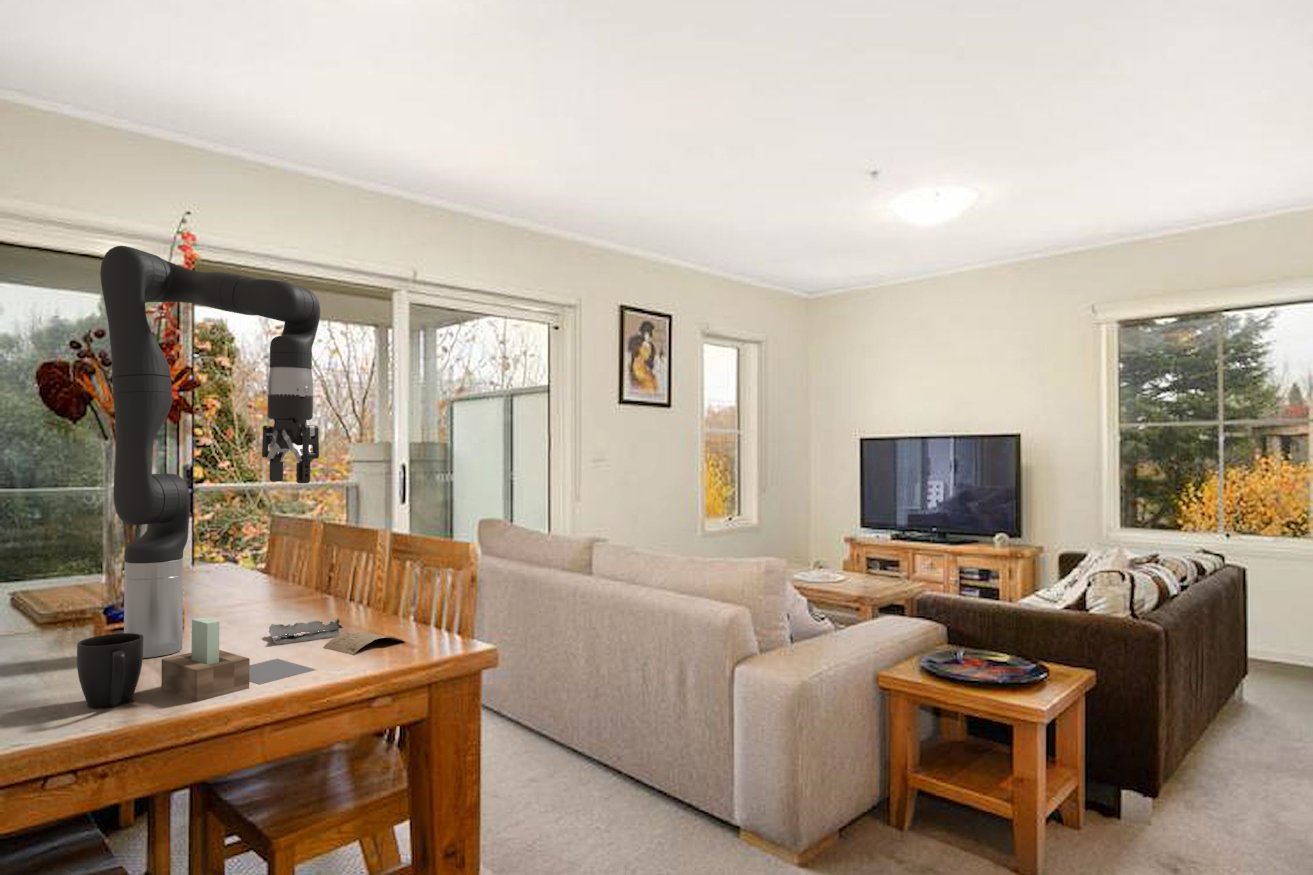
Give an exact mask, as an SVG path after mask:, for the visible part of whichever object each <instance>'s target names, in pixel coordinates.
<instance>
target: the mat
mask: <svg viewBox="0 0 1313 875" xmlns="http://www.w3.org/2000/svg"><path fill="white" fill-rule="evenodd" d="M314 671H317V668H314V667H313V668H312V667H309V666H307V665H306V666H305V665H302V664H298V663H294V662H291V661H287V660H285V659H284V660H283V659H280V658H275V659H269V660H266V661H261V662H256V663H253V664H250V668H249V683H253V684H257V685H264V684H268V683H272V682H274V681H275V682H276V681H279V680H283V679H286V678H291V677H294V676H298V675H303V674H305V673H309V672H314Z"/></svg>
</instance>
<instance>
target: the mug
mask: <svg viewBox="0 0 1313 875" xmlns="http://www.w3.org/2000/svg"><path fill="white" fill-rule="evenodd" d="M143 659H144V658H143V635H141V634H134V633H124V632H121V633H112V634H111V633H110V634H103V635H97V636H92V637H89V638H86V639H82V640H80V641H78V642H77V645H76V668H77V675H78V679H79V685H80V687H81V690H82V693H83V696H84V699H85V701H86V704H87V707H88V708H90V709H95V710H96V709H109V708H116V707H120V706H124V705H126V704H129V703H131V702H132V700H133V698H134V694H135V691H136V689H137V685H138V682H139V680H140V676H141V673H142V672H141V670H142V666H143Z"/></svg>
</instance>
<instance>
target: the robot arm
mask: <svg viewBox="0 0 1313 875" xmlns="http://www.w3.org/2000/svg"><path fill="white" fill-rule="evenodd" d="M100 283H101V284H100V285H101V290H102V296H103V302H104V305H105V313H106V319H107V324H108V334H109V335H108V336H109V344H110V354H111V378H112V379H111V380H112V381H111V384H112V397H113V404H114V405H113V406H114V421H115V423H114V424H115V425H114V426H115V428H114V429H115V454H114V456H115V457H114V471H113V472H114V474H113V504H114V508H115V512H116V514H117V516H118V518H119V519H120V521H122V522H123V523H124V524H126V525H128V526H140V525H141V526H142V525H147V529H146V531H145V533H144V534H143V535H142V536H140V537H139V538H138V539H136V540H134V541H133V542H131V543H129V544H128V545H127V546H126V547H125V548H124V575H123V576H124V589H123V590H124V591H123V593H124V600H123V603H124V604H123V606H124V609H123V633H134V634H141V635H143V659H144V658H145V659H146V658H157V657H163V656H166V655H167V656H168V655H171V654H174V653H177V652H179V651H181V650H182V649H183V623H184V622H183V620H184V619H183V616H184V606H183V605H184V551H185V550H184V549H185V547H186V545H187V543H188V538H189V528H190V527H189V526H190V524H189V523H190V513H191V494H190V488H189V487H188V484H187V481H185V479H184V478H183V477H182V476H180V475H178V474H175V473H152V451H153V450H152V448H153V445H154V441H155V439H156V437H157V435H158V433H159V431H160V430H161V428H162V426H163V424H164V422H165V421H166V419H167V417H168V415H169V413H170V410H171V408H172V405H173V388H172V385H173V384H172V374H171V369H170V365H169V363H168V360H167V357H166V355H165V354H164V352H163V350H162V349H161V346H160V345H159V343H158V341H157V339H156V338H155V336H154V334H153V332H152V330H151V327H150V325H149V322H148V318H147V311H146V310H147V309H146V303H186V304H195V305H201V306H204V307H209V308H210V309H211V308H212V309H216V310H220V311H223V312H228V313H229V312H230V313H233V314H234V313H235V314H240V315H244V316H245V315H246V316H258V317H262V318H268V319H271V320H274V321H280V322H283V323H284V324H283V325H284V326H283V329H282V333H281V335H278V336H277V335H276V336H274V337H273V338H271V341H270V345H269V371H268V377H267V378H268V379H267V415H266V416H267V418H268V419H269V420H273V422H274V423H273V425H266V424H265V425H264V426H263V427H262V444H261V445H262V446H261V447H262V448H261V457H262V458H266V460H267V462H269V481H270V482H275V483H276V482H283V479H284V461H283V460H284V458H285V456H286V454H287V453H288V452H291V453H292V454H294V456H295V459H296V461H297V462H296V472H295V474H296V475H295V476H296V483H297V484H309V483H310V482H311V463H312V462H313V460H315V459H316V460H318V459H319V457H320V442H319V438H320V437H319V436H320V435H319V433H320V432H319V426H318V425H313V424H312V425H311V424H309V425H308V423H307V421H310V420H312V419H313V417H314V415H313V414H314V378H313V370H312V369H313V368H312V367H313V366H312V365H313V344H314V342H315V339H316V336H317V331H318V327H319V324H320V318H321V306H320V305H321V304H320V302H319V299H318V297H317V296H316V294H315V293H314V292H313V291H312V290H310V289H309V288H305V287H302V286H299V285H295V284H293V283H289V282H287V281H281V280H277V279H265V278H256V277H251V276H246V275H242V274H241V275H240V274H235V273H229V272H224V271H223V272H221V271H207V272H206V271H198V270H193V269H190V268H186V267H183V266H181V265H178V264H176V263H173V262H172V261H169V260H166V259H164V258H162V257H160V256H158V255H156V254H154V253H150V252H147V251H144V250H140V249H137V248H134V247H130V246H127V245H117V246H113V247H111V248H110V249H108V250H107V252H105V254H104V256H103V258H102V261H101V265H100ZM269 449H270V450H269ZM311 449H312V451H311Z"/></svg>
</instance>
